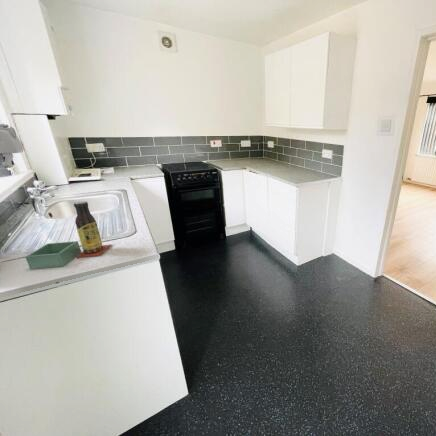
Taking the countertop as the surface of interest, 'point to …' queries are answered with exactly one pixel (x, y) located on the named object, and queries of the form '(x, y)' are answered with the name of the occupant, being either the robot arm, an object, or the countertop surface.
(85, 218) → the sauce bottle
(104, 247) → the drying mat
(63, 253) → the green open tray
